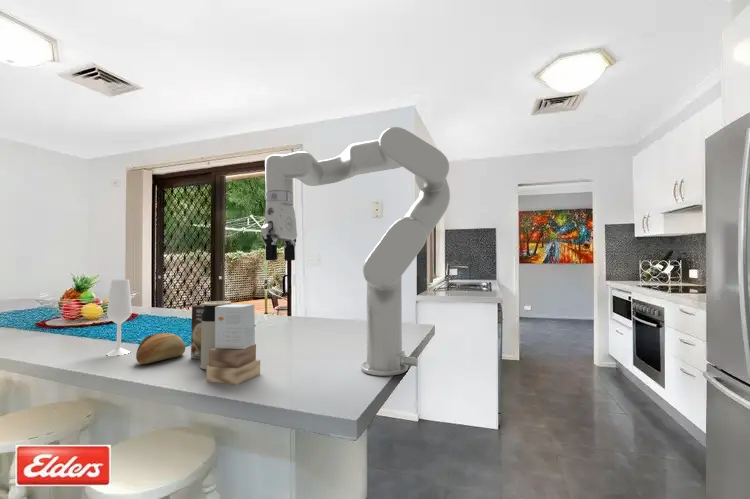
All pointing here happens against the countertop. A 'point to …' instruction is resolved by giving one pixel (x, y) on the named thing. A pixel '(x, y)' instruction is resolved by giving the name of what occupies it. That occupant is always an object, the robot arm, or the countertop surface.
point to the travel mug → (208, 330)
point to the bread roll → (159, 348)
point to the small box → (234, 326)
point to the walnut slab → (231, 357)
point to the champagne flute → (119, 310)
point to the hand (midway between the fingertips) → (281, 260)
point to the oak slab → (233, 373)
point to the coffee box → (196, 331)
